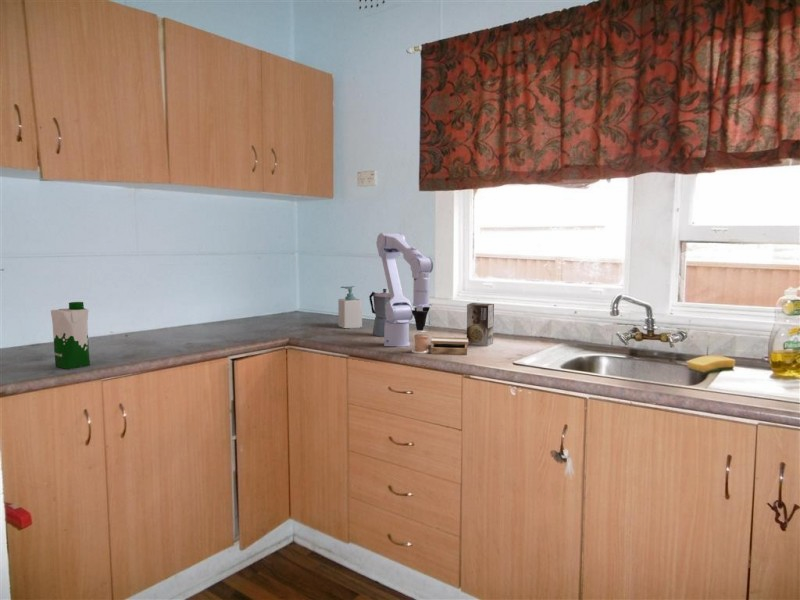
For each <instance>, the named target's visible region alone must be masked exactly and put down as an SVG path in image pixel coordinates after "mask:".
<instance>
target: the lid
mask: <svg viewBox="0 0 800 600" xmlns="http://www.w3.org/2000/svg"><path fill="white" fill-rule="evenodd" d="M432 343H436V344H467V345H469V344H468V338H467V337H456V336H454V337H448V336H432V337H431V340H430V344H432Z"/></svg>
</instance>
